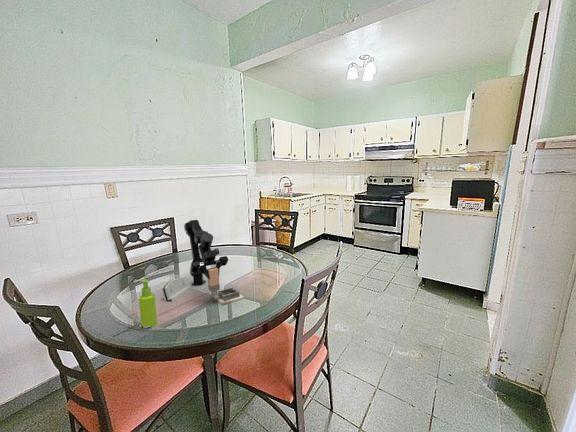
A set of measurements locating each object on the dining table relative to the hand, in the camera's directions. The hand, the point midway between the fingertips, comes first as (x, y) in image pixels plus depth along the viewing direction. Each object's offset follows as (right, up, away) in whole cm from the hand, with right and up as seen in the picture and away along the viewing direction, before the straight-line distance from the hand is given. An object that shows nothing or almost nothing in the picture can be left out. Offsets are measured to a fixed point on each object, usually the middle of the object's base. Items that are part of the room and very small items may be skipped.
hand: (214, 277), depth 126 cm
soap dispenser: (-23, -16, -17) cm, 33 cm away
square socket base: (+6, -12, +7) cm, 15 cm away
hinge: (-25, -13, +14) cm, 32 cm away
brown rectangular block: (-1, -6, +2) cm, 7 cm away
